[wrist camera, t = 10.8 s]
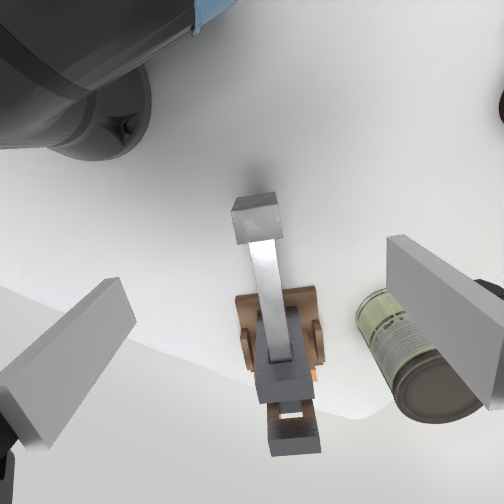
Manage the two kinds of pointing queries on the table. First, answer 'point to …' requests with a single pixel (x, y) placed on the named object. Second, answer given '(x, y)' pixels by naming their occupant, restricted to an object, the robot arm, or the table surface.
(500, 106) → the coffee mug
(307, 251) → the table surface
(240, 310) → the tray
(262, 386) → the bearing blocks
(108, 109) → the robot arm
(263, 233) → the shaft
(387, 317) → the coffee can
